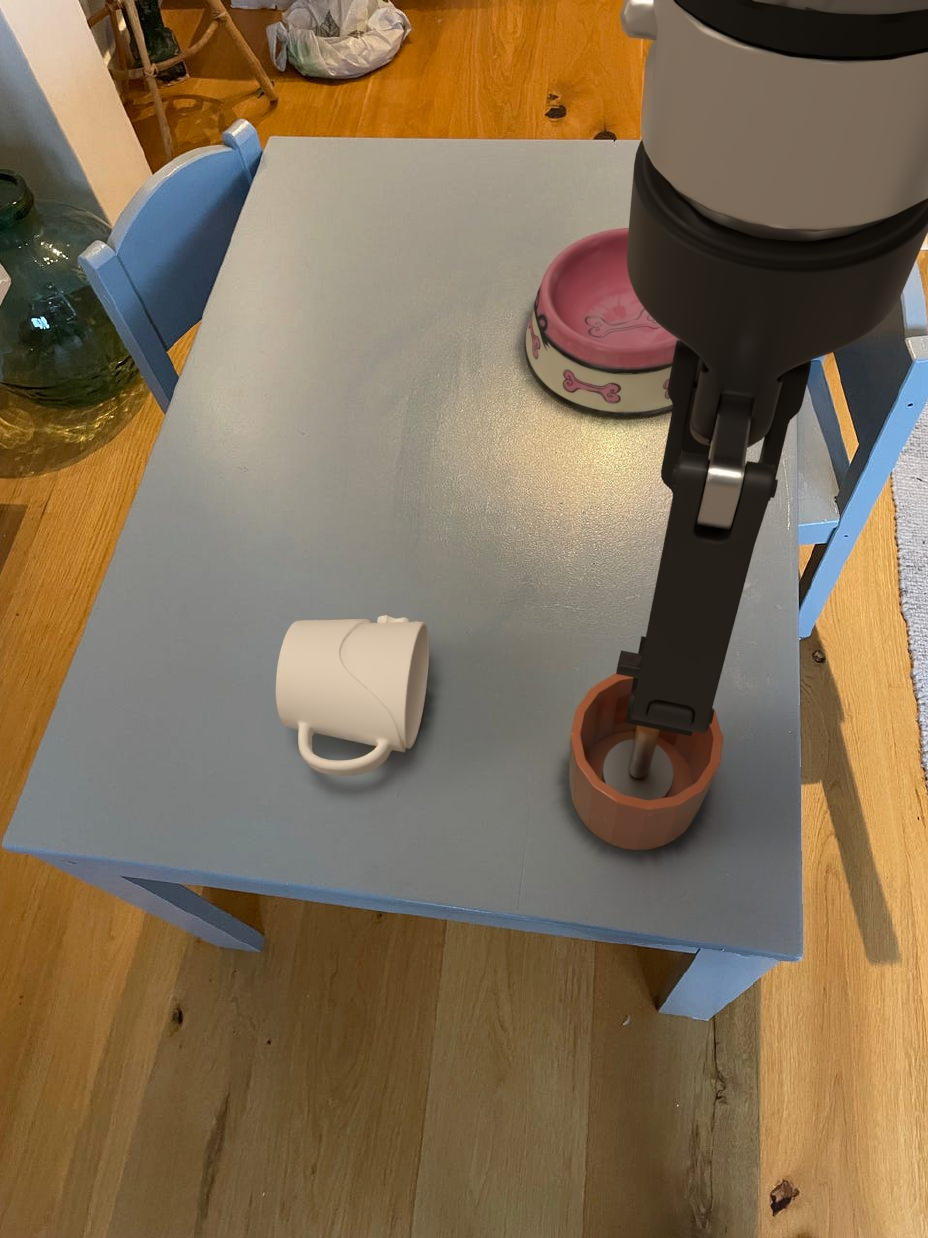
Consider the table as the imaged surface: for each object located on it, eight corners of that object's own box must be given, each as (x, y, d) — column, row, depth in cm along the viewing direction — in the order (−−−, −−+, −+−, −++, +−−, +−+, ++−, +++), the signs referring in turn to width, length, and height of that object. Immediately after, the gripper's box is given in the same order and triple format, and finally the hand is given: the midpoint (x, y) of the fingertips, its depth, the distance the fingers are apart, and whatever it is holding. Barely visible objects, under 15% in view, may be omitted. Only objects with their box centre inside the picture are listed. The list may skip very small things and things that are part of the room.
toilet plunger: (674, 759, 67) (719, 622, 48) (663, 824, 65) (707, 706, 46) (607, 746, 68) (626, 605, 49) (595, 808, 66) (610, 687, 47)
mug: (319, 640, 74) (294, 591, 67) (434, 649, 73) (421, 600, 66) (286, 784, 69) (255, 746, 62) (409, 797, 68) (392, 760, 61)
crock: (708, 740, 68) (730, 684, 59) (690, 863, 64) (711, 823, 55) (583, 715, 69) (587, 657, 61) (558, 833, 65) (558, 790, 57)
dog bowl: (513, 286, 91) (510, 227, 85) (702, 260, 91) (712, 199, 85) (538, 432, 82) (537, 378, 76) (748, 404, 82) (763, 347, 76)
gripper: (705, -124, 29) (645, 362, 48) (528, 540, 18) (540, 832, 37) (963, -115, 27) (797, 382, 46) (939, 611, 17) (734, 878, 35)
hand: (683, 582), depth 41 cm, fingers open, 13 cm apart
